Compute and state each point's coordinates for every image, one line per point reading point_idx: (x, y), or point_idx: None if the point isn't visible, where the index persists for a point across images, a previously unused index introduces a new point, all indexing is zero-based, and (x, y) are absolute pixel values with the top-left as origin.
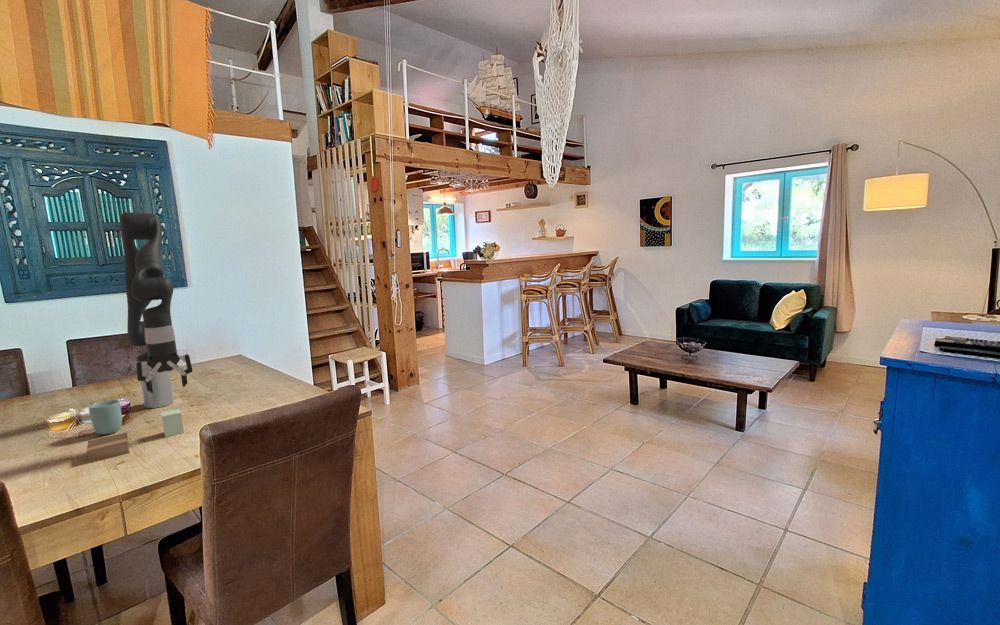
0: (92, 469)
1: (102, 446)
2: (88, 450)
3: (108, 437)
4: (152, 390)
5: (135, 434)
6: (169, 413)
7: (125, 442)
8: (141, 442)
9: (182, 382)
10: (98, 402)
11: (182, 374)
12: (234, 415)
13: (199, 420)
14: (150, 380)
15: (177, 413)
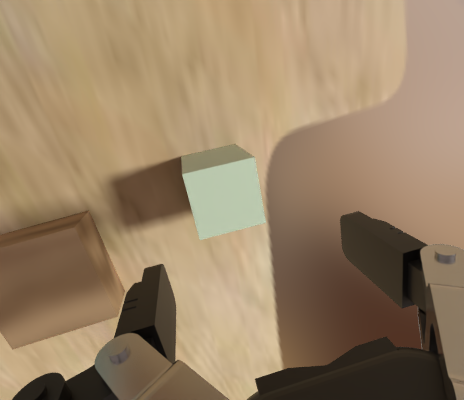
0: (70, 359)
1: (49, 331)
2: (17, 346)
3: (22, 255)
4: (174, 313)
5: (73, 119)
6: (222, 211)
7: (113, 316)
8: (130, 220)
9: (364, 272)
10: None
11: (424, 318)
12: (388, 94)
13: (281, 79)
14: (153, 338)
15: (253, 225)
